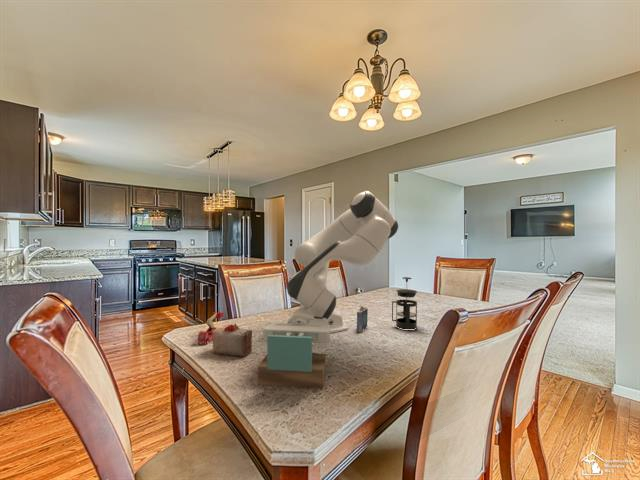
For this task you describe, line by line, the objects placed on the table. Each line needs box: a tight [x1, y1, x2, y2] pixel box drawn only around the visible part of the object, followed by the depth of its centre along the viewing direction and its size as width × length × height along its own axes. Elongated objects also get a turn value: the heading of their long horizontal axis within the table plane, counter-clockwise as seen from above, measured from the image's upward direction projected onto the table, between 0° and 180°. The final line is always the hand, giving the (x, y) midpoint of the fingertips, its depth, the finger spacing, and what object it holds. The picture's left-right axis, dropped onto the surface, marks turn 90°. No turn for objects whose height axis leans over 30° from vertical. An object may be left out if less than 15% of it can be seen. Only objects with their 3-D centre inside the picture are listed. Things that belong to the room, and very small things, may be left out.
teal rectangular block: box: [266, 335, 313, 372], centre depth 80 cm, size 1×12×9 cm, turn 84°
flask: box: [356, 304, 369, 333], centre depth 131 cm, size 9×3×11 cm, turn 151°
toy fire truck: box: [197, 311, 225, 345], centre depth 117 cm, size 3×14×10 cm, turn 168°
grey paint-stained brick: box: [212, 323, 253, 358], centre depth 104 cm, size 14×8×10 cm, turn 75°
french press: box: [391, 276, 418, 329], centre depth 134 cm, size 12×9×23 cm
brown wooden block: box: [257, 352, 327, 389], centre depth 86 cm, size 11×18×5 cm, turn 84°
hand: (292, 341), depth 82 cm, fingers closed
